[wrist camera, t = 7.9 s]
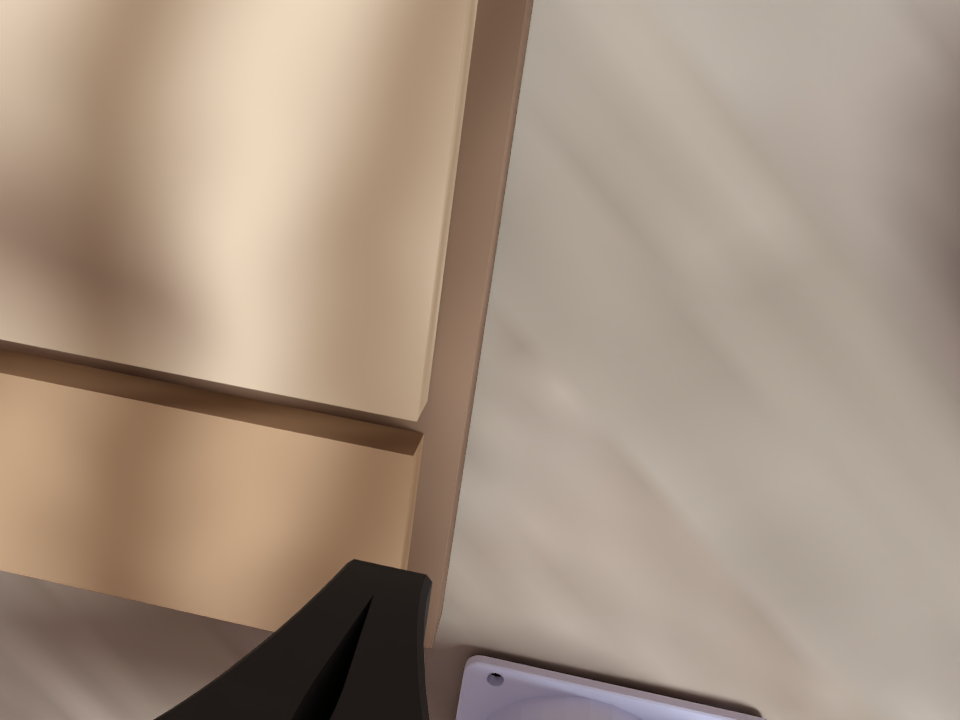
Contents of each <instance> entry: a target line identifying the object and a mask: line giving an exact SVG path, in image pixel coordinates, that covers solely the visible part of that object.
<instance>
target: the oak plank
mask: <svg viewBox="0 0 960 720" xmlns="http://www.w3.org/2000/svg"><path fill="white" fill-rule="evenodd" d="M477 4H478V0H0V339H1V340H6V341H11V342H16V343H22V344H27V345H32V346H37V347H42V348H47V349H52V350H57V351H62V352H67V353H72V354H77V355H82V356H87V357H92V358H97V359H102V360H107V361H113V362H118V363H123V364H128V365H133V366H138V367H143V368H148V369H153V370H158V371H163V372H168V373H173V374H178V375H183V376H188V377H193V378H198V379H204V380H209V381H214V382H219V383H224V384H229V385H234V386H239V387H244V388H249V389H254V390H259V391H264V392H269V393H274V394H279V395H284V396H289V397H295V398H300V399H305V400H310V401H315V402H320V403H325V404H330V405H335V406H340V407H345V408H350V409H355V410H360V411H365V412H370V413H375V414H380V415H386V416H391V417H396V418H401V419H406V420H411V421H416V422H417V420H418V418H419V416H420V414H421V413H422V411H423V409H424V407H425V405H426V403H427V401H428V393H429V385H430V377H431V369H432V361H433V353H434V345H435V337H436V329H437V321H438V313H439V306H440V298H441V290H442V282H443V274H444V266H445V258H446V250H447V242H448V234H449V226H450V218H451V210H452V203H453V195H454V187H455V179H456V171H457V163H458V155H459V147H460V139H461V131H462V123H463V115H464V107H465V99H466V92H467V84H468V76H469V68H470V60H471V52H472V44H473V36H474V28H475V20H476V12H477Z"/></svg>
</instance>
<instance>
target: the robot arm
mask: <svg viewBox="0 0 960 720" xmlns="http://www.w3.org/2000/svg"><path fill="white" fill-rule="evenodd" d="M431 589H432V581H431V579H430V578H429V577H428V576H427V574H422V573H417V572H413V571H408V570H403V569H399V568H394V567H389V566H385V565H380V564H375V563H371V562H366V561H361V560H357V559H353V560H351V561H350V562H348V563H346V565H345V566H344V567H343V568H342V569H341V570H340V571H339V572H338V573H337V574H336V575H335V576H334V577H333V578H332V579H331V580H330V581H329V582H328V583H327V584H326V585H325V586H324V587H323V588H322V589H321V590H320V591H319V592H318V593H317V594H316V595H315V596H314V597H313V598H312V599H311V600H310V601H309V602H308V603H307V604H305V605H304V606H303V607H302V608H301V609H300V610H299V611H298V612H297V613H296V614H295V615H293V616H292V617H291V618H290V619H289V620H288V621H287V622H285V623H284V624H283V625H282V626H281V627H280V628H279V629H278V630H276V631H275V632H274V633H273V634H272V635H271V636H270V637H268V638H267V639H266V640H265V641H264V642H262V643H261V644H260V645H259V646H257V647H256V648H255V649H254V650H252V651H251V652H250V653H249V654H247V655H246V656H245V657H243V658H242V659H241V660H240V661H238V662H237V663H236V664H235V665H233V666H232V667H231V668H230V669H228V670H227V671H226V672H224V673H223V674H222V675H220V676H219V677H217V678H216V679H215V680H213V681H212V682H211V683H209V684H208V685H206V686H205V687H203V688H202V689H201V690H199V691H198V692H196V693H195V694H193V695H192V696H190V697H189V698H187V699H186V700H184V701H183V702H181V703H180V704H178V705H177V706H175V707H174V708H172V709H170V710H169V711H167V712H166V713H164V714H162V715H161V716H159V717H157V718H156V719H154V720H429V714H428V706H427V697H426V686H425V670H424V638H425V631H426V624H427V617H428V610H429V603H430V596H431ZM491 673H497V674H500V675H501V677H495V676H493V675H491ZM456 720H766V719H763V718H761V717H757V716H752V715H748V714H743V713H739V712H734V711H730V710H725V709H721V708H716V707H712V706H707V705H703V704H698V703H694V702H689V701H685V700H680V699H676V698H671V697H667V696H662V695H658V694H653V693H649V692H644V691H640V690H635V689H631V688H626V687H622V686H617V685H613V684H608V683H604V682H599V681H595V680H590V679H586V678H581V677H577V676H572V675H568V674H563V673H559V672H554V671H550V670H545V669H541V668H536V667H532V666H527V665H523V664H518V663H514V662H510V661H505V660H501V659H496V658H492V657H487V656H481V655H476V656H473V657H471V658H469V659H468V660H467V662H466V664H465V668H464V673H463V679H462V685H461V691H460V697H459V702H458V708H457V714H456Z"/></svg>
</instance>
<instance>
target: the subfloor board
mask: <svg viewBox="0 0 960 720" xmlns="http://www.w3.org/2000/svg"><path fill="white" fill-rule="evenodd" d="M532 7H533V0H478V4H477V12H476V20H475V28H474V36H473V44H472V52H471V60H470V68H469V76H468V84H467V92H466V99H465V107H464V115H463V123H462V131H461V139H460V147H459V155H458V163H457V171H456V179H455V187H454V195H453V203H452V210H451V218H450V226H449V234H448V242H447V250H446V258H445V266H444V274H443V282H442V290H441V298H440V306H439V313H438V321H437V329H436V337H435V345H434V353H433V361H432V369H431V377H430V385H429V393H428V401H427V403H426V405H425V407H424V409H423V411H422V413H421V414H420V416H419V418H418V420H417V422H416V421H411V420H406V419H401V418H396V417H391V416H386V415H380V414H375V413H370V412H365V411H360V410H355V409H350V408H345V407H340V406H335V405H330V404H325V403H320V402H315V401H310V400H305V399H300V398H295V397H289V396H284V395H279V394H274V393H269V392H264V391H259V390H254V389H249V388H244V387H239V386H234V385H229V384H224V383H219V382H214V381H209V380H204V379H198V378H193V377H188V376H183V375H178V374H173V373H168V372H163V371H158V370H153V369H148V368H143V367H138V366H133V365H128V364H123V363H118V362H113V361H107V360H102V359H97V358H92V357H87V356H82V355H77V354H72V353H67V352H62V351H57V350H52V349H47V348H42V347H37V346H32V345H27V344H22V343H16V342H11V341H6V340H1V339H0V570H1V571H6V572H10V573H15V574H19V575H24V576H28V577H33V578H37V579H41V580H46V581H50V582H55V583H59V584H64V585H68V586H72V587H77V588H81V589H86V590H90V591H95V592H99V593H104V594H108V595H112V596H117V597H121V598H126V599H130V600H135V601H139V602H144V603H148V604H152V605H157V606H161V607H166V608H170V609H175V610H179V611H183V612H188V613H192V614H197V615H201V616H206V617H210V618H215V619H219V620H223V621H228V622H232V623H237V624H241V625H246V626H250V627H255V628H259V629H263V630H268V631H272V632H275V631H276V630H278V629H279V628H280V627H281V626H282V625H283V624H284V623H285V622H287V621H288V620H289V619H290V618H291V617H292V616H293V615H295V614H296V613H297V612H298V611H299V610H300V609H301V608H302V607H303V606H304V605H305V604H307V603H308V602H309V601H310V600H311V599H312V598H313V597H314V596H315V595H316V594H317V593H318V592H319V591H320V590H321V589H322V588H323V587H324V586H325V585H326V584H327V583H328V582H329V581H330V580H331V579H332V578H333V577H334V576H335V575H336V574H337V573H338V572H339V571H340V570H341V569H342V568H343V567H344V566H345V565H346V563H348V562H350V561H351V560H353V559H357V560H361V561H366V562H371V563H375V564H380V565H385V566H389V567H394V568H399V569H403V570H408V571H413V572H417V573H422V574H427V576H428V577H429V578H430V579H431V581H432V589H431V596H430V603H429V610H428V617H427V624H426V631H425V638H424V647H425V648H429V649H431V648H432V645H433V642H434V638H435V635H436V632H437V628H438V625H439V621H440V618H441V615H442V608H443V601H444V595H445V588H446V581H447V575H448V568H449V561H450V554H451V548H452V541H453V534H454V528H455V521H456V514H457V508H458V501H459V494H460V488H461V481H462V474H463V468H464V461H465V454H466V448H467V441H468V434H469V428H470V421H471V414H472V408H473V401H474V394H475V388H476V381H477V374H478V368H479V361H480V354H481V348H482V341H483V334H484V327H485V321H486V314H487V307H488V301H489V294H490V287H491V281H492V274H493V267H494V261H495V254H496V247H497V241H498V234H499V227H500V221H501V214H502V207H503V201H504V194H505V187H506V181H507V174H508V167H509V161H510V154H511V147H512V141H513V134H514V127H515V121H516V114H517V107H518V100H519V94H520V87H521V80H522V74H523V67H524V60H525V54H526V47H527V40H528V34H529V27H530V20H531V14H532Z"/></svg>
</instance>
